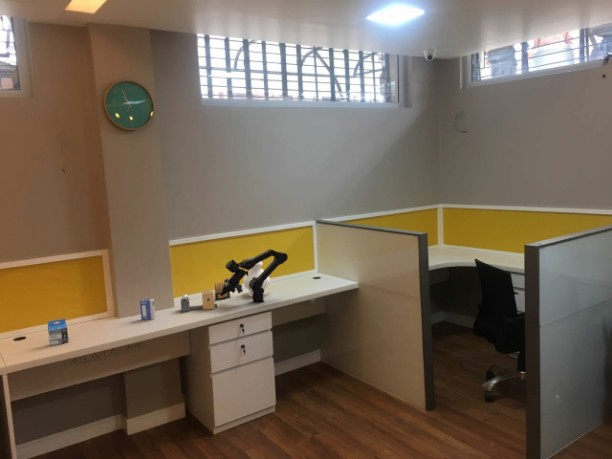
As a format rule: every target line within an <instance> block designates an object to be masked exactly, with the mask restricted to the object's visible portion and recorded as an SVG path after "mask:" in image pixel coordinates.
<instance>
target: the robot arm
mask: <svg viewBox="0 0 612 459" xmlns="http://www.w3.org/2000/svg"><path fill="white" fill-rule="evenodd" d="M270 257H273V260H272V261H271V262H270V263H269V265H268V266H267V267H266V268H265V269H263V270H264V271H263V272H262V273H261V275H260V276H259V277H257V278H256V277H253V279H252V280H251V281H250V283H249V288H250V289H251V290H252V291H253V294H252V296H251V297H252V298H251V300H252V302H253V303H255V304H257V303H264V302H265V300H264V296H263V293H264V289H263V288H262V285H263V282H264V281H265V280H266V279H267V277H268V276H269V277H270V276H271V274H272V273H273V272H274V271H275V270H276V269H277V268H278V267H279V266H280V265H282V264H284V263H285V262H287V261H288V260H289V255H288V254H287V253H286V252H284V251H277V250H274V249H271V248H269V249H267V250H265V251H264V252H262V253H260V254H258V255H255V256H254V258H253V257H250V258H245V259H242V260H241V261H240V262H238V263H237V262H236V261H235V260H234V259H231V260H230V261H228V262H227V263H226V264H225V269H226V270H228V271H229V272H230V273H231V276H230V278H225V279H224V280H223V284H224V282H226V284H224V285H223V289H222V291H221V294H220V295H221V296H223V295H224V294H226V293H227V292H230V293H233V294H234V293H235V292H236V291H237V293H238V294H240V293H242V292H244V290H243V289H242V288H243V285H242V283H241V284H240V282H241V280H242V279H243V278H245V276H246V275H247V276H248V272H249V270H250V269H251V268H253V267H254V266H255V265H256V264H257V263H259V262H263V261H265V260H267V259H269V258H270Z"/></svg>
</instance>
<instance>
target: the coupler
mask: <svg viewBox="0 0 612 459" xmlns="http://www.w3.org/2000/svg"><path fill="white" fill-rule="evenodd" d="M214 306H215V309H218V303H214ZM180 307H181V309H180V310H181V313H190V312H191V311H199V310H203V304H198V305H197V304H196V305H190V298H189V297H188V295H187V294H183V295H182V296H181V298H180Z"/></svg>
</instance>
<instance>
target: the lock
mask: <svg viewBox="0 0 612 459" xmlns="http://www.w3.org/2000/svg"><path fill="white" fill-rule="evenodd" d="M201 298H202V301H201V302H202V305H203V309H202V310H203V311H206V310H215V309H216V308H215V306H214V304H215V292H214V290H213V289H211V290H202V291H201Z"/></svg>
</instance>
